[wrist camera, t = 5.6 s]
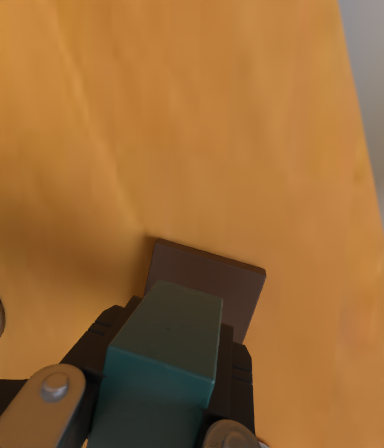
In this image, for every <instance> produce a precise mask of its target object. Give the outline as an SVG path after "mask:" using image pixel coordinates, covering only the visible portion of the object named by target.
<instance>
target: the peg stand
mask: <svg viewBox="0 0 384 448" xmlns="http://www.w3.org/2000/svg"><path fill="white" fill-rule="evenodd" d="M158 279H161V280H164V281H167V282H171V283H174V284H177V285H181V286H184V287H187V288H191V289H194V290H197V291H201V292H204V293H208V294H211V295H214V296H218V297H221V298H222V299H223V306H222V317H221V323H225V324H228V325H231V326H233V327H234V332H233V342H236V343H239V344H242V343H243V341H244V338H245V335H246V332H247V329H248V327H249V324H250V321H251V318H252V315H253V313H254V310H255V307H256V304H257V301H258V299H259V296H260V293H261V290H262V287H263V285H264V282H265V279H266V271H265V269H261V268H258V267H255V266H251V265H248V264H245V263H241V262H238V261H234V260H231V259H228V258H224V257H221V256H217V255H214V254H211V253H207V252H204V251H201V250H197V249H194V248H190V247H187V246H184V245H180V244H177V243H173V242H170V241H167V240H163V239H158V240H157V241H156V242H155V245H154V250H153V254H152V259H151V264H150V269H149V273H148V278H147V283H146V287H145V292H144V297H145V296H146V295H147V293H148V292H149V291H150V289H151V288H152V287H153V285H154V284H155V283H156V281H157V280H158ZM144 297H143V299H144Z"/></svg>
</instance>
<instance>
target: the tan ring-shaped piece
mask: <svg viewBox="0 0 384 448" xmlns="http://www.w3.org/2000/svg"><path fill="white" fill-rule="evenodd" d="M222 306H223V299H222V298H221V297H218V296H214V295H211V294H208V293H204V292H201V291H197V290H194V289H191V288H187V287H184V286H181V285H177V284H174V283H171V282H167V281H164V280H161V279H158V280H157V281H156V283H155V284H154V285H153V287H152V288H151V289H150V291H149V292H148V293H147V295H146V296H145V297H144V299H143V300H142V301H141V303H140V304H139V305H138V307H137V308H136V309H135V311H134V312H133V313H132V314H131V316H130V317H129V318H128V320H127V321H126V322H125V324H124V325H123V326H122V328H121V329H120V330H119V332H118V333H117V334H116V336H115V337H114V338H113V340H112V341H111V342H110V344H109V345H108V346H107V350H106V355H105V360H104V365H103V370H102V374H103V375H105V376H107V378H105V377H104V378H103V380H102V382H101V384H100V385H99V390H98V395H97V399H96V404H95V409H94V413H93V418H92V423H91V428H90V433H89V438H88V442H87V447H86V448H196V444H197V441H198V437H199V433H200V429H201V425H202V422H203V411H202V410H200V408H201V409H207V407H208V405H209V401H210V398H211V395H212V392H213V388H214V385H215V380H216V369H217V359H218V348H219V338H220V327H221V317H222ZM85 441H86V440H85ZM84 446H85V442H84V444H83V445H82V447H81V448H84Z"/></svg>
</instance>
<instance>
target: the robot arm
mask: <svg viewBox="0 0 384 448" xmlns="http://www.w3.org/2000/svg"><path fill="white" fill-rule="evenodd" d="M142 300H143V298H140V297H137V296H133V297H132V298H131V300H130V301H129V302H128V304H127V305H126V306H125V308H124V307H121V306H118V305H114V306H112V307H110V308H109V309H107V310H105V311H103V312H102V313H101V315H100V316H99V317H98V318H97V319H96V320H95V323H93V324H92V325H91V326H90V327H89V329H88V331H86V332H85V333H84V335H83V336H82V337H81V338H80V339H79V340H78V342H77V343H76V344H75V345H74V346H73V348H72V349H71V350H70V351H69V352H68V353H67V355H66V356H65V357H64V358H63V359H62V360H61V362H60V363H59V364H54V365H50V366H47V367H44V368H42V369H40V370H39V371H37V372H36V373H34V374H33V375H32V376H31V377H30V378H29V379H24V380H7V379H0V448H81V447H82V445H83V444H84V442H85V440H86V439H88V438H89V433H90V428H91V423H92V418H93V413H94V409H95V404H96V399H97V395H98V390H99V385H100V384H101V382H102V380H103V378H104V377H105V378H107V376H105V375H103V374H102V370H103V365H104V360H105V355H106V350H107V346H108V345H109V344H110V342H111V341H112V340H113V338H114V337H115V336H116V334H117V333H118V332H119V330H120V329H121V328H122V326H123V325H124V324H125V322H126V321H127V320H128V318H129V317H130V316H131V314H132V313H133V312H134V311H135V309H136V308H137V307H138V305H139V304H140V303H141V301H142ZM4 327H5V313H4V309H3V306H2V303H1V301H0V336H1V335H2V333H3V330H4ZM233 332H234V327H233V326H231V325H228V324H225V323H221V327H220V338H219V348H218V359H217V369H216V380H215V385H214V388H213V392H212V395H211V398H210V401H209V405H208V407H207V409H201V408H200V410H202V411H203V422H202V425H201V429H200V433H199V437H198V441H197V444H196V448H261V446H260V444H259V442H258V440H257V439H256V436H255V425H254V403H253V385H252V382H253V381H252V359H251V356H250V354H249V352H248V350H247V348H246V346H245V345H242V344H239V343H236V342H233Z"/></svg>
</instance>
